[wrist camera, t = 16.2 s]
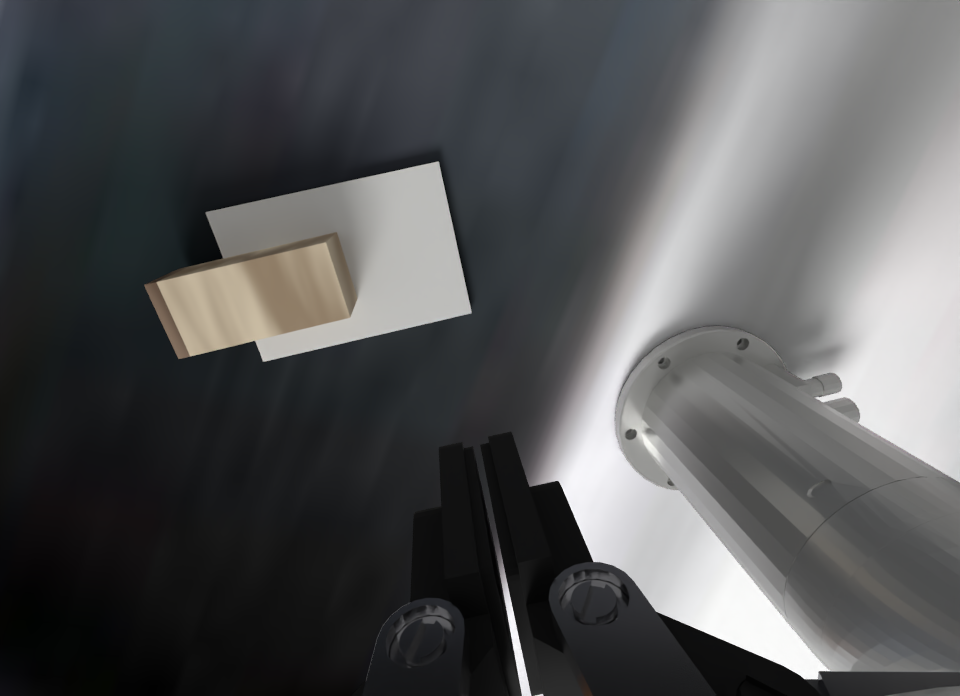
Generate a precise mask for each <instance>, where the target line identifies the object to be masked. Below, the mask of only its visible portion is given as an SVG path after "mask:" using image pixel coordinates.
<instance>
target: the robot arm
mask: <svg viewBox="0 0 960 696" xmlns="http://www.w3.org/2000/svg"><path fill="white" fill-rule="evenodd" d="M660 359H661V360H660ZM659 360H660V361H659ZM841 389H842V382H841V380H840V378H839V377H838V376H837V375H836V374H835V373H827V374H823V375H819V376H815V377H813V378H811V379H807V380H802V379H800V378H798V377H796V376H795V375H793V374H791V373H789V372H787V371H786V368H785V365H784V363H783V361H782V360H781V358H780V357H779V355H778V354H777V352H776V351H775V350H774V349H773V348H772V347H771V346H769V345H768V344H767V343H766V342H765V341H763V340H762V339H760V338H758V337H756V336H754V335H752V334H751V333H748V332H745V331H743V330H740V329H737V328H732V327H726V326H707V327H701V328H696V329H692V330H688V331H685V332H683V333H681V334H678V335H676V336H674V337H671V338H670V339H668V340H667V341H665V342H663V343H662V344H660V345H659V346H657V347H656V348H654V349H653V350H652V351H651V352H650V353H649V354H648V355H647V356H646V357H644V358H643V359H642V360H641V361H640V363H639V364H638V365H637V366H636V368H635V369H634V370H633V371H632V373H631V374H630V376H629V378H628V379H627V381H626V383H625V385H624V387H623V388H622V391H621V394H620V397H619V400H618V403H617V408H616V415H615V430H616V437H617V440H618V443H619V447H620V449H621V451H622V453H623V454H624V456H625V458H626V460H627V461H628V462H629V463H630V465H631V466H632V467H633V468H634V470H635V471H636V472H637V473H638V474H640V475H641V476H642V477H643V478H644V479H646V480H647V481H649V482H651V483H653V484H655V485H657V486H660V487H663V488H666V489H670V490H679V491H680V492H681V493H682V494H683V496H684V497H685V498H686V499H687V500H688V502H689V503H690V504H691V505H692V507H693V508H694V509H695V510H696V511H697V513H698V514H699V515H700V516H701V518H702V519H703V520H704V521H705V522H706V524H707V525H708V526H709V527H710V529H711V530H712V531H713V532H714V533H715V535H716V536H717V537H718V538H719V540H720V541H721V542H722V543H723V544H724V546H725V547H726V548H727V549H728V551H729V552H730V553H731V554H732V556H733V557H734V558H735V559H736V560H737V562H738V563H739V564H740V565H741V567H742V568H743V569H744V570H745V571H746V573H747V574H748V575H749V576H750V578H751V579H752V580H753V581H754V582H755V584H756V585H757V586H758V587H759V589H760V590H761V591H762V592H763V593H764V595H765V596H766V597H767V598H768V600H769V601H770V602H771V603H772V604H773V606H774V607H775V608H776V609H777V611H778V612H779V613H780V614H781V615H782V617H783V618H784V619H785V620H786V622H787V623H788V624H789V625H790V626H791V628H792V629H793V630H794V631H795V632H796V633H797V635H798V636H799V637H800V638H801V639H802V641H803V642H804V643H805V644H806V645H807V647H808V648H809V649H810V650H811V652H812V653H813V654H814V655H815V656H816V657H817V658H818V659H819V660H820V661H821V662H822V664H823V665H824V666H825V667H826V668H827V669H828V670H830V671H819V674H818V679H803V678H802V677H801V676H800V675H798V674H796V673H795V672H793V671H791V670H789V669H787V668H786V667H784V666H782V665H780V664H777V663H775V662H773V661H770V660H768V659H766V658H763V657H761V656H759V655H756V654H754V653H751V652H749V651H747V650H744V649H742V648H740V647H737V646H735V645H733V644H730V643H728V642H726V641H723V640H721V639H719V638H716V637H714V636H712V635H709V634H707V633H705V632H702V631H700V630H698V629H695V628H693V627H691V626H688V625H686V624H684V623H681V622H679V621H676V620H674V619H672V618H669V617H667V616H665V615H662V614H660V613H658V612H656V611H655V610H654V608H653V607H652V606H651V604H650V603H649V602H648V600H647V599H646V597H645V596H644V595H643V593H642V592H641V591H640V589H639V588H638V586H637V585H636V584H635V582H634V581H633V580H632V579H631V578H630V577H629V576H628V575H627V574H626V573H625V572H624V571H622V570H620V569H618V568H616V567H615V566H612V565H608V564H605V563H601V562H593V560H592V558H591V555H590V553H589V550H588V548H587V546H586V543H585V541H584V539H583V536H582V534H581V532H580V529H579V527H578V525H577V522H576V520H575V518H574V515H573V513H572V511H571V508H570V506H569V503H568V501H567V499H566V496H565V494H564V492H563V489H562V487H561V485H560V483H559V482H558V481H555V482H550V483H546V484H541V485H536V486H532V487H529V485H528V482H527V479H526V475H525V472H524V469H523V466H522V463H521V460H520V457H519V454H518V451H517V448H516V445H515V441H514V438H513V435H512V432H507V433H503V434H498V435H493V436H489V437H488V439H489V443H486V444H482V445H480V446H481V451H482V456H483V461H484V466H485V472H486V477H487V482H488V487H489V492H490V497H491V502H492V508H493V513H494V518H495V523H496V528H497V533H498V538H499V543H500V549H501V554H502V559H503V564H504V569H505V573H506V578H507V583H508V588H509V592H510V597H511V602H512V606H513V611H514V616H515V620H516V625H517V630H518V635H519V639H520V644H521V649H522V653H523V658H524V663H525V667H526V672H527V677H528V681H529V686H530V691H531V695H532V696H535V695H539V694H543V695H544V696H960V483H959V482H958V481H956V480H954V479H953V478H951V477H949V476H947V475H946V474H944V473H942V472H941V471H939V470H937V469H936V468H934V467H932V466H930V465H929V464H927V463H925V462H924V461H922V460H920V459H918V458H917V457H915V456H913V455H912V454H910V453H908V452H906V451H905V450H903V449H901V448H900V447H898V446H896V445H894V444H893V443H891V442H889V441H888V440H886V439H884V438H882V437H881V436H879V435H877V434H876V433H874V432H872V431H870V430H869V429H867V428H865V427H864V426H862V425H860V424H858V422H859V419H860V413H859V409H858V408H857V406H856V404H855V403H854V402H853V401H852V400H850V399H849V398H845V397H844V398H840V399H836V400H832V401H828V402H824V403H823V402H821V401H819V400H817V399H816V398H814V397H822V396H826V395H830V394H834V393H838V392H840V391H841ZM439 461H440V484H441V506H440V507H435V508H431V509H426V510H422V511H417V512H415V513H414V521H413V547H412V573H411V599H410V603H409V604H407V605H405V606H403V607H401V608H400V609H399V610H397V611H396V612H395V613H394V614H392V615H391V616H390V617H389V619H388V620H387V621H386V623H385V624H384V625H383V626H382V629H381V631H380V633H379V636H378V638H377V641H376V645H375V649H374V652H373V656H372V660H371V664H370V667H369V671H368V675H367V679H366V681H365V682H364V683H363V684H362V685H361V686H360V687H359V688H358V689H357V690H356V691H355V692H354V693H353V694H352V696H522V694H521V689H520V683H519V677H518V672H517V666H516V661H515V655H514V650H513V644H512V639H511V633H510V628H509V622H508V617H507V611H506V606H505V600H504V595H503V589H502V583H501V578H500V572H499V567H498V561H497V556H496V551H495V546H494V541H493V536H492V532H491V527H490V523H489V518H488V513H487V509H486V504H485V500H484V495H483V490H482V486H481V481H480V477H479V472H478V467H477V463H476V458H475V454H474V449H473V446H472V447H468V448H464V446H463V442H461V443H456V444H451V445H447V446H442V447H439Z"/></svg>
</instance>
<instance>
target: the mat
mask: <svg viewBox="0 0 960 696" xmlns="http://www.w3.org/2000/svg"><path fill="white" fill-rule="evenodd" d="M205 213H206V215H207V218H208V220H209V223H210V226H211V228H212V231H213V233H214V236H215V238H216V241H217V244H218V246H219V249H220V251H221V254H222V256H223V259H224V258H228V257H232V256H236V255H241V254H245V253H249V252H254V251H258V250H262V249H266V248H271V247H275V246H279V245H283V244H288V243H292V242H296V241H301V240H305V239H309V238H313V237H318V236H322V235H326V234H330V233H335V232H337V234H338V237H339V240H340V244H341V247H342V250H343V253H344V256H345V260H346V263H347V266H348V269H349V272H350V276H351V279H352V282H353V285H354V288H355V292H356V295H357V298H358V299H357V302H356V304H355V307H354V309H353V312H352V314H351V317H350V318H347V319H343V320H339V321H334V322H330V323H326V324H322V325H318V326H314V327H310V328H305V329H301V330H297V331H293V332H289V333H285V334H281V335H277V336H272V337H268V338H264V339H260V340H256V344H257V346H258V349H259V351H260V354H261V357H262V359H263V362H264V361H269V360H273V359H277V358H282V357H286V356H290V355H294V354H299V353H303V352H307V351H312V350H316V349H320V348H324V347H329V346H333V345H337V344H341V343H346V342H350V341H354V340H359V339H363V338H367V337H371V336H376V335H380V334H384V333H389V332H393V331H397V330H401V329H406V328H410V327H414V326H419V325H423V324H427V323H431V322H436V321H440V320H444V319H449V318H453V317H457V316H461V315H466V314H470V313H472V312H471V307H470V303H469V298H468V293H467V289H466V284H465V280H464V275H463V271H462V266H461V261H460V257H459V252H458V248H457V243H456V238H455V234H454V229H453V225H452V220H451V216H450V211H449V206H448V202H447V197H446V193H445V188H444V183H443V179H442V174H441V170H440V165H439V161H438V162H433V163H429V164H424V165H420V166H415V167H411V168H406V169H401V170H397V171H392V172H388V173H383V174H378V175H374V176H369V177H365V178H360V179H356V180H351V181H346V182H342V183H337V184H333V185H328V186H323V187H319V188H314V189H310V190H305V191H301V192H296V193H291V194H287V195H282V196H278V197H273V198H268V199H264V200H259V201H255V202H250V203H246V204H241V205H236V206H232V207H227V208H223V209H218V210H214V211H209V212H205Z"/></svg>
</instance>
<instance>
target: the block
mask: <svg viewBox="0 0 960 696" xmlns="http://www.w3.org/2000/svg"><path fill="white" fill-rule="evenodd" d="M144 286H145V288H146V290H147V292H148V295H149V297H150V299H151V301H152V303H153V305H154V307H155V309H156V312H157V314H158V316H159V318H160V320H161V322H162V324H163V327H164V329H165V331H166V333H167V335H168V337H169V339H170V342H171V344H172V346H173V348H174V350H175V352H176V354H177V357H178V359H181V358H185V357H190V356H194V355H198V354H202V353H206V352H210V351H214V350H219V349H223V348H227V347H231V346H235V345H239V344H243V343H248V342H252V341H256V340H260V339H264V338H268V337H272V336H277V335H281V334H285V333H289V332H293V331H297V330H301V329H305V328H310V327H314V326H318V325H322V324H326V323H330V322H334V321H339V320H343V319H347V318H350V317H351V314H352V312H353V309H354V307H355V304H356V302H357V299H358V298H357V295H356V292H355V288H354V285H353V282H352V279H351V276H350V272H349V269H348V266H347V263H346V260H345V256H344V253H343V250H342V247H341V244H340V240H339V237H338V234H337V232H335V233H330V234H326V235H322V236H318V237H313V238H309V239H305V240H301V241H296V242H292V243H288V244H283V245H279V246H275V247H271V248H266V249H262V250H258V251H254V252H249V253H245V254H241V255H236V256H232V257H228V258H224V259H219V260H215V261H211V262H206V263H202V264H198V265H194V266H189V267H185V268H181V269H178V270H176V271H173V272H171V273H169V274H167V275H165V276H163V277H160V278H158V279H156V280H154V281H152V282H150V283H147V284H145V285H144Z"/></svg>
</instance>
